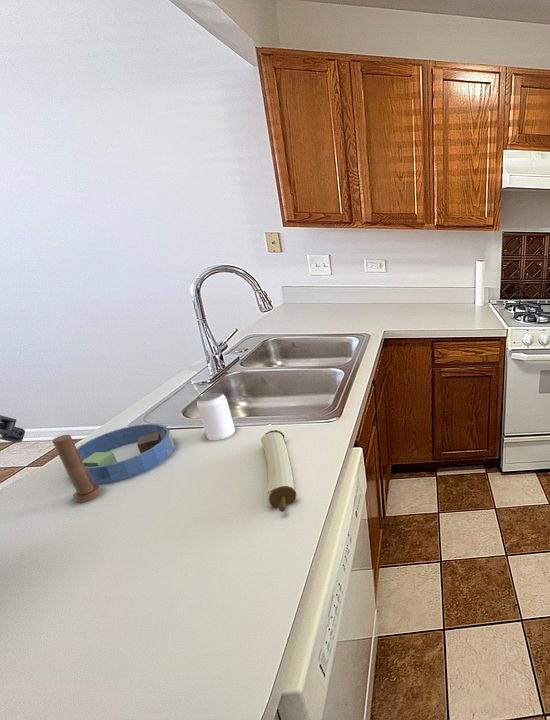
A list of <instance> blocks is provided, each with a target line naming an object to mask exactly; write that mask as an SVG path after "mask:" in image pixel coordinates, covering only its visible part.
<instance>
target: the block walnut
mask: <svg viewBox="0 0 550 720" xmlns="http://www.w3.org/2000/svg"><path fill="white" fill-rule="evenodd" d="M161 441H162V439H161V436H160V434H159V432H158V433H154V434H150V435H146V436H142V437H139V439H138V442H137V445H136V446H137V448H138V450H139V453H140V454H141V453H143V452H145V451H147V450H149V449H151V448H153V447H154V446H155V445H157V444H158V443H160V442H161Z"/></svg>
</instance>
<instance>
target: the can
mask: <svg viewBox="0 0 550 720" xmlns="http://www.w3.org/2000/svg"><path fill="white" fill-rule="evenodd" d="M196 400H197V402H196V407H197V410H198V414H199V417H200V420H201V424H202V427H203V430H204V433H205V436H206V438H207V439H208V440H209V441H219V440H225V439H227V438H229V437H231V436H232V435H233V434H235V431H236V428H235V425H234V420H233V418H232V417H233V416H232V413H231V410H230V406H229V403H228V399H227V397H226V395H225V394H224V392H223V391H221V390H211V391H207V392H203V393H201V394H199V395H198V396H197V397H196Z"/></svg>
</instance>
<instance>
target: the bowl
mask: <svg viewBox="0 0 550 720" xmlns="http://www.w3.org/2000/svg"><path fill="white" fill-rule="evenodd" d="M158 432H159V434H160V436H161V439H162V441H161V442H160V443H158V444H157V445H155V446H154V447H153V448H151V449H149V450H147V451H145V452H143V453H140V454H137V455H134V456H132V457H129V458H126V459H124V460H120V461H117V462H116V463H112V464H108V465H101V466H94V467H85V468H86V471H87V473H88V475H89V477H90V479H91V482H92V484H93V485H98V486H99V485H105V484H106V485H107V484H112V483H116V482H120V481H124V480H127V479H130V478H131V479H132V478H133V477H135V476H138V475H140V474H143V473H146V472H147V471H149V470H151V469H153V468H155V467H157V466H159V465H160V464H162V463H163V462H164V461H165V460H167V459H168V458H169V457H170V456H171V454H172V453H173V452H174V451H175V442H174V439H173V437H172V434H171V431H170V429H169V428H168V427H167V426H166V425H162V424H159V423H144V424H134V425H131V426H126V427H121V428H118V429H115V430H112V431H109V432H106V433H103V434H101V435H98V436H96V437H94V438H91V439H90V440H87V441H86V442H84V443H82V444H81V445H79V446H78V447H76V449H77V451H78V453H79V455H80V457H81V460H82V461H83V460H85V459H86V458H88V457H89V456H91V455H92V454H94V453H95V452H110V451H111V450H114V449H116V448H120V447H122V446H126V445H130V444H133V443H136V442H137V443H138V439H139V437H142V436H146V435H150V434H154V433H158Z"/></svg>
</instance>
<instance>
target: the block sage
mask: <svg viewBox="0 0 550 720" xmlns="http://www.w3.org/2000/svg"><path fill="white" fill-rule="evenodd" d="M82 462H83V464H84V466H85V467H94V466H101V465H108V464H112V463H116V462H118V461H117V459H116V456H115V454H114V452H113V451H107V452H95V453H94V454H92V455H91V456H89V457H88V458H86V459H85V460H83V461H82Z"/></svg>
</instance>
